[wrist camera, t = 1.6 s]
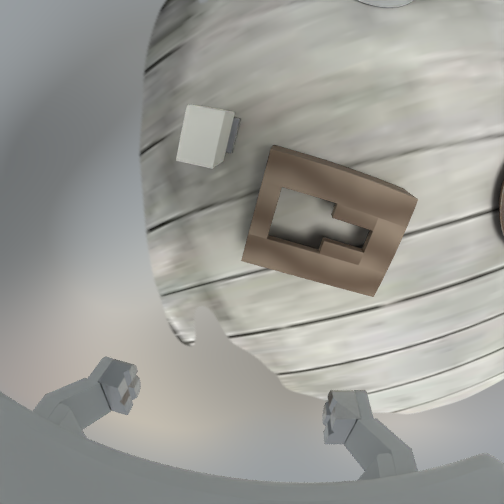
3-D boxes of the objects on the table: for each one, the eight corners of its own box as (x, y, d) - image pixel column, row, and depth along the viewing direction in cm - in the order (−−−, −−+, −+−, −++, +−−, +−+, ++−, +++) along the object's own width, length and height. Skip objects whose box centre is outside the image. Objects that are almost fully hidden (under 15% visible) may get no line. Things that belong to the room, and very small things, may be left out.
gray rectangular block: (207, 106, 33) (184, 104, 26) (242, 113, 33) (227, 111, 26) (198, 150, 36) (173, 160, 29) (231, 158, 36) (214, 169, 29)
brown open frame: (273, 144, 35) (270, 149, 30) (403, 188, 35) (418, 199, 30) (247, 243, 41) (241, 260, 36) (365, 277, 41) (373, 296, 36)
